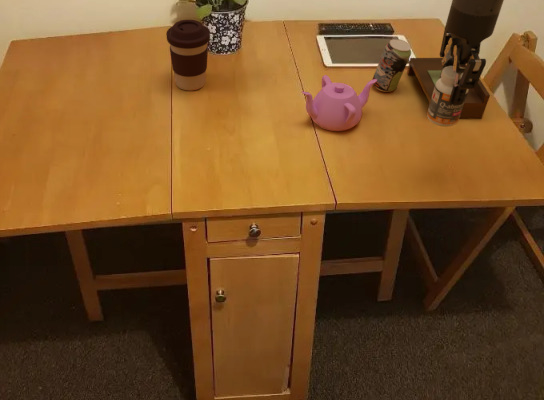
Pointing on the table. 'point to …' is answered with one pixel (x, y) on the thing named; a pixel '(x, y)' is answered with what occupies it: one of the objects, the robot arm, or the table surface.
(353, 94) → the teapot
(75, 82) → the table surface
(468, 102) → the shelf
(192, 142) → the table surface
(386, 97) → the table surface
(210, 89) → the table surface
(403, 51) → the beverage can
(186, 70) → the coffee cup
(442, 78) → the pill bottle
